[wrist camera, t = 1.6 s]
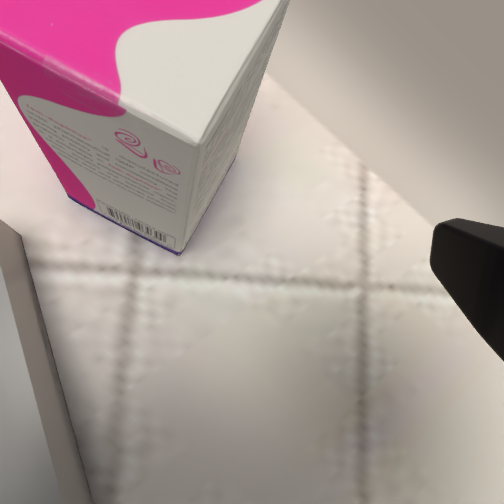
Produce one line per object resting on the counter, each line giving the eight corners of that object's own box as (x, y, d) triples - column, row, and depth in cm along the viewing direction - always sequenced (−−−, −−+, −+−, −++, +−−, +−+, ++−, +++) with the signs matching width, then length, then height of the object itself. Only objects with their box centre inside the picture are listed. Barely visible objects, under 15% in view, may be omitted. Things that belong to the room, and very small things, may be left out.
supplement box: (239, 152, 22) (312, -35, 11) (179, 258, 21) (197, 161, 10) (131, 92, 22) (97, -163, 11) (62, 196, 20) (-57, 22, 9)
